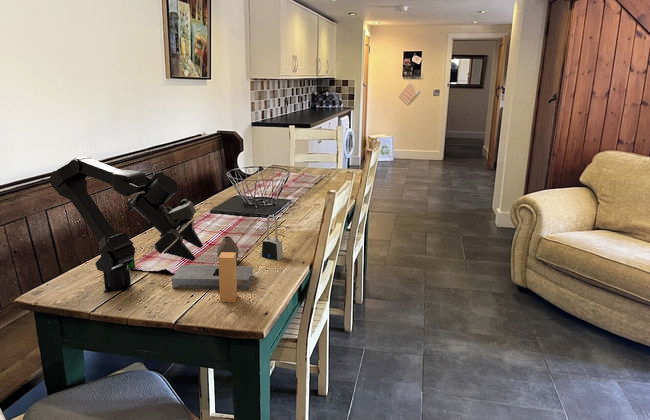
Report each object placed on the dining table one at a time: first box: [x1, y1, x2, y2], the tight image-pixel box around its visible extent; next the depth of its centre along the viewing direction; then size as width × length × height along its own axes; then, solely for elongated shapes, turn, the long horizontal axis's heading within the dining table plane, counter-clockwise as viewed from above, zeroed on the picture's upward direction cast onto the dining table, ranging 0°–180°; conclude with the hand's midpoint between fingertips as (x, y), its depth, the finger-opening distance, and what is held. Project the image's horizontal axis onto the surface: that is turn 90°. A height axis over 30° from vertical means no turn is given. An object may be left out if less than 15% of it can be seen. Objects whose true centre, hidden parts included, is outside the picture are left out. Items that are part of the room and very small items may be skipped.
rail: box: [171, 264, 254, 290], centre depth 144 cm, size 22×10×3 cm, turn 91°
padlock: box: [260, 214, 284, 261], centre depth 162 cm, size 7×4×15 cm, turn 65°
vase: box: [216, 235, 239, 261], centre depth 157 cm, size 7×7×9 cm
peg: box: [218, 252, 238, 303], centre depth 132 cm, size 4×4×13 cm
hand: (198, 253), depth 130 cm, fingers open, 9 cm apart
